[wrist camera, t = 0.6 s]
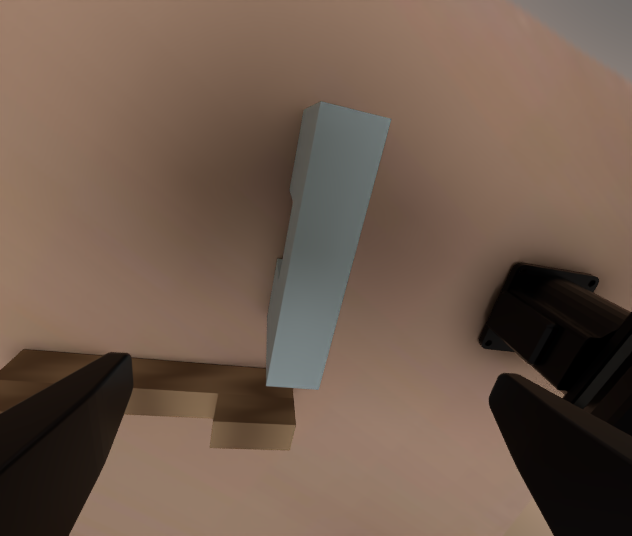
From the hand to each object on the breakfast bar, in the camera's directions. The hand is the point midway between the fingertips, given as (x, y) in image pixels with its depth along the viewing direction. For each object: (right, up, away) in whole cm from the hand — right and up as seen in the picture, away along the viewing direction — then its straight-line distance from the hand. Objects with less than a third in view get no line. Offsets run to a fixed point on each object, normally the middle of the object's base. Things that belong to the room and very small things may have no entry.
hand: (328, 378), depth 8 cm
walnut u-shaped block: (-10, -4, +13) cm, 17 cm away
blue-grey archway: (-1, +5, +11) cm, 12 cm away
